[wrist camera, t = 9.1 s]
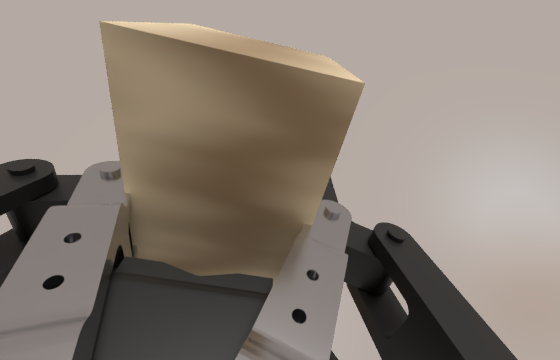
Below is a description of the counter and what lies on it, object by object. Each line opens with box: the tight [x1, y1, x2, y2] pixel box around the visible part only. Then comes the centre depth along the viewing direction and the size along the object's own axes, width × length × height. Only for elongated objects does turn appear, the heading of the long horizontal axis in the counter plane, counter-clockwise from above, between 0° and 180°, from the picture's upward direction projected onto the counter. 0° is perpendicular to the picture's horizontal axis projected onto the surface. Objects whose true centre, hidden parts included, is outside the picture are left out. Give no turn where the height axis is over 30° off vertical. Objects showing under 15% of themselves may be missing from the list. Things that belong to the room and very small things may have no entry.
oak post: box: [100, 21, 365, 285], centre depth 10 cm, size 5×5×13 cm
